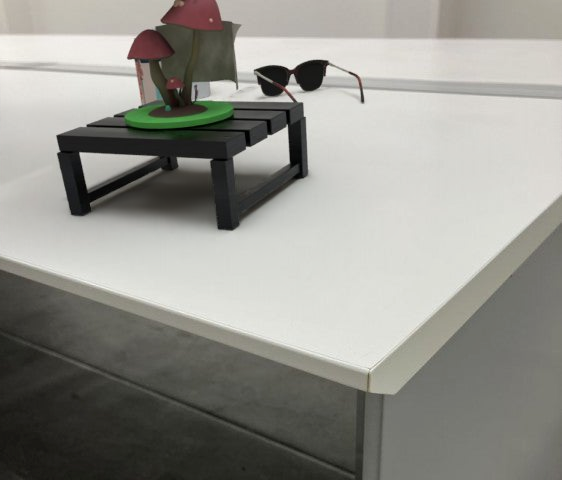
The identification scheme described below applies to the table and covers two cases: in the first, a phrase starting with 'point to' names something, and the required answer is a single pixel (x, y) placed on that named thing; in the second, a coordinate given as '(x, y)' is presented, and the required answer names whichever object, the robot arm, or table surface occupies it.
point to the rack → (187, 153)
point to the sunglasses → (296, 77)
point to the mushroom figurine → (186, 65)
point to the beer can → (146, 82)
